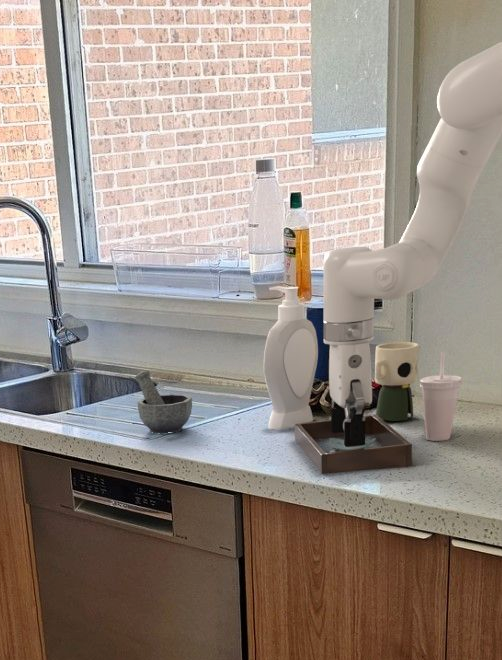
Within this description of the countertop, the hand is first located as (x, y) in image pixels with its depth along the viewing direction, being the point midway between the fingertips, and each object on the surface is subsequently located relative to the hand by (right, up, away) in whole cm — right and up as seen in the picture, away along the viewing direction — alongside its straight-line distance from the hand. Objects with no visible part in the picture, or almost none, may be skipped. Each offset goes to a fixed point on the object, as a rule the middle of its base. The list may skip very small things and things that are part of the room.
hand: (347, 438), depth 198 cm
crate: (+1, -2, +1) cm, 3 cm away
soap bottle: (-4, +7, +24) cm, 26 cm away
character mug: (+14, +7, +18) cm, 23 cm away
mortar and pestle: (-25, +6, +30) cm, 39 cm away
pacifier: (+1, -3, +1) cm, 3 cm away
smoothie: (+16, 0, +3) cm, 16 cm away
